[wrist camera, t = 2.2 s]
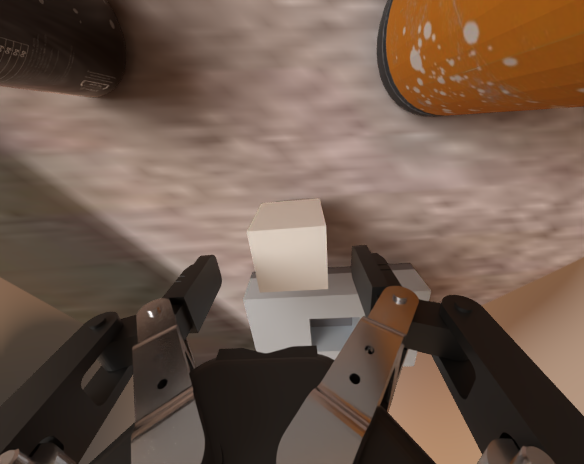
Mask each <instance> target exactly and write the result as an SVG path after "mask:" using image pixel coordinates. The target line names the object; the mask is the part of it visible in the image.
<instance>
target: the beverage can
mask: <svg viewBox="0 0 584 464" xmlns="http://www.w3.org/2000/svg"><path fill="white" fill-rule="evenodd" d="M125 64H126V50H125V43H124V38H123V34H122V31H121V28H120V25H119V23H118V20H117V18H116V16H115V14H114V12H113V10H112V8H111V6H110V5H109V3H108V2H107V0H0V86H3V87H11V88H19V89H26V90H34V91H42V92H50V93H57V94H66V95H75V96H84V97H99V96H103V95H106V94H108V93H109V92H111V91H112V90H113V89H115V88H116V86H117V85H118V84H119V82H120V81H121V79H122V76H123V73H124V70H125Z"/></svg>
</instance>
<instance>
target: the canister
mask: <svg viewBox="0 0 584 464" xmlns="http://www.w3.org/2000/svg"><path fill="white" fill-rule="evenodd" d="M377 62H378V68H379V73H380V77H381V80H382V82H383V85H384V87H385V89H386V90H387V92H388V94H389V95H390V97H391V98H392V99H393V100H394V101H395V102H396V103H397V104H398V105H399V106H401V107H402V108H403V109H405V110H407V111H409V112H411V113H413V114H417V115H421V116H444V115H462V114H477V113H492V112H507V111H522V110H537V109H552V108H567V107H582V106H584V0H388V1H387V3H386V6H385V8H384V11H383V15H382V18H381V21H380V26H379V32H378V37H377Z"/></svg>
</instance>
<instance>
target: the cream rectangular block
mask: <svg viewBox="0 0 584 464" xmlns="http://www.w3.org/2000/svg"><path fill="white" fill-rule="evenodd" d="M247 235H248V240H249V245H250V250H251V254H252V259H253V264H254V268H255V273H256V278H257V282H258V287H259V292H260V293H262V292H282V291H301V290H321V289H328V266H327V237H326V223H325V219H324V215H323V211H322V207H321V202H320V198H318V199H300V200H288V201H276V202H271V203H261V205H260V207H259V209H258V211H257V213H256V215H255V217H254V218H253V220H252V222H251V224H250V226H249V228H248V230H247Z"/></svg>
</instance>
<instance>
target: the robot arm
mask: <svg viewBox="0 0 584 464" xmlns="http://www.w3.org/2000/svg"><path fill="white" fill-rule="evenodd" d="M351 273H352V279H353V282H354V285H355V288H356V290H357V293H358V296H359V299H360V302H361V305H362V308H363V310H364V313H365V316H366V317H365V316H363V317H362V318H361V319H360V320H359V322H358V324H357V325H356V327H355V328H354V330H353V332H352V333H351V335H350V336H349V338H348V340H347V341H346V343H345V344H344V346H343V348H342V349H341V351H340V353H339V354H338V356H337V357H336V359H335V360H334V359H331V358H329V357H327V356H324V355H321V354H317V345H315V346H292V347H288V348H285V349H281V350H278V351H274V352H270V353H262V352H257V351H253V350H248V349H244V348H236V349H219V352H218V355H217V357H216V358H214V359H212V360H209V361H207V362H205V363H203V364H201V365H200V366H198V367H197V368H196V365H195V362H194V359H193V356H192V352H191V349H190V346H189V343H188V340H187V338H186V337H187V336H188V334H189V333H198V332H199V330H200V328H201V326H202V324H203V322H204V320H205V318H206V316H207V314H208V312H209V310H210V308H211V306H212V304H213V301H214V299H215V297H216V295H217V293H218V291H219V289H220V287H221V283H222V278H221V274H220V270H219V267H218V263H217V260H216V257H215V256H214V255H205V256H200V257H199V258H198V259H197V261H196V262H195V263H194V265H191V266H189V267H188V268H187V269H185V270H184V271H183V272H182V274H181V275H180V277H178V279H177V280H176V282H174V284H173V285H172V286H171V287H170V289H169V290H168V291H167V293H166V294H165V295H164V296H163V298H161V299H157V300H154V301H151V302H149V303H147V304H146V305H144V306H143V307H142V308H141V309H140V310H139V311H138V313H137V315H134V316H130V317H127V318H123V319H120V318H119V316H118V314H117V313H116V312H106V313H103V314H100V315H98V316H96V317H94V318H92V319H90V320H89V321H87V322H86V323H85V324H84V325H83V326H82V327H81V328H80V329H79V330H78V331H77V332H76V333H75V334H74V335H73V336H72V337H71V338H70V339H69V340H68V341H66V342H65V343H64V344H63V345H62V346H61V347H60V348H59V350H58V351H56V352H55V353H54V354H53V355H52V356H51V357H50V358H49V359H48V360H47V361H46V362H45V363H44V364H43V365H42V366H41V367H40V368H39V369H38V370H37V371H36V372H35V373H34V374H33V375H32V376H31V377H30V378H29V379H28V380H27V381H26V382H25V383H24V384H23V385H22V386H21V387H20V388H19V389H18V390H17V391H16V392H15V393H14V394H13V395H12V396H11V397H10V398H9V399H8V400H6V401H5V402H4V403H3V404H2V405H1V406H0V464H78V463H79V461H80V460H81V458H82V457H83V455H84V453H85V452H86V450H87V448H88V447H89V445H90V443H91V442H92V440H93V439H94V437H95V435H96V433H97V432H98V430H99V429H100V427H101V426H102V424H103V422H104V420H105V419H106V417H107V416H108V414H109V412H110V411H111V409H112V408H113V406H114V404H115V403H116V401H117V399H118V398H119V396H120V395H121V393H122V391H123V390H124V388H125V386H126V385H127V383H128V381H129V380H130V378H131V377H132V375H133V377H134V378H133V379H134V405H135V423H133V424H132V425H131V426H130V427H129V428H128V429H127V430H126V431H125V432H124V433H122V434H121V435H120V436H119V437H118V438H117V439H116V440H115V441H114V442H112V444H110V445H109V446H108V447H107V448H106V449H105V450H104V451H103V452H101V453H100V454H99V455H98V456H97V457H96V458H95V459H94V460H93V461H92V462H90V463H89V464H436V463H435V462H434V461H433V460H432V459H431V458H430V457H429V456H428V455H427V454H426V453H425V451H424V450H423V449H422V448H421V447H420V446H419V445H418V444H417V443H416V442H415V441H414V440H413V439H412V438H411V437H410V436H409V434H408V433H407V432H405V430H404V429H403V428H402V427H401V426H400V425H399V424H398V423H397V422H396V421H395V420H394V419H393V418H392V416H391V415H390V414H389V413H388V412H389V408H390V406H391V402H392V399H393V396H394V392H395V388H396V385H397V382H398V379H399V376H400V373H401V370H402V367H403V364H404V361H405V358H406V356H407V353H408V350H409V349H411V350H415V351H419V352H423V353H427V354H431V355H432V357H433V359H434V361H435V363H436V365H437V367H438V369H439V371H440V373H441V375H442V377H443V378H444V381H445V382H446V384H447V386H448V388H449V390H450V392H451V394H452V396H453V398H454V400H455V402H456V404H457V406H458V408H459V410H460V412H461V414H462V416H463V417H464V420H465V422H466V424H467V425H468V427H469V429H470V431H471V433H472V435H473V437H474V439H475V441H476V443H477V445H478V447H479V449H480V451H481V453H482V456H481V458H480V459H479V461H478V462H477V464H584V416H583V415H582V414H581V413H580V412H579V411H578V409H577V408H575V406H574V405H573V404H572V403H571V402H570V401H569V400H568V399H567V398H566V397H565V395H564V394H563V393H562V392H561V391H560V390H559V389H558V388H557V387H556V386H555V385H554V384H553V382H552V381H551V380H550V379H549V378H548V377H547V376H546V375H545V374H544V373H543V372H542V371H541V370H540V368H539V367H538V366H537V365H536V364H535V363H534V362H533V361H532V360H531V359H530V358H529V357H528V356H527V354H526V353H525V352H524V351H523V350H522V349H521V348H520V347H519V346H518V345H517V344H516V343H515V342H514V340H513V339H512V338H511V337H510V336H509V335H508V334H507V333H506V332H505V331H504V330H503V328H502V327H501V326H500V325H499V324H498V323H497V322H496V321H495V320H494V319H493V318H492V317H491V316H490V314H489V313H488V312H487V311H486V310H485V309H484V308H483V307H482V306H481V305H480V304H478V303H477V302H475V301H474V300H472V299H469V298H467V297H464V296H459V295H449V296H446V297H444V298H443V299H442V303H436V302H430V301H424V300H421V299H418V297H417V295H416V294H415V293H414V292H413V291H411V290H409V289H407V288H405V287H402V285H401V284H400V282H399V281H398V279H397V277H396V276H395V274H394V273H393V271H392V270H391V268H390V267H389V265H388V264H387V262H386V260H385V259H384V258H383V257H382V256H380V255H379V254H377V253H371V252H370V251H369V249H368V247H367V245H359V246H352V259H351ZM96 359H97V360H98V361H99V363H101V365H102V366H101V367H100V369H99V370H98V371H97V372H96V374H95V375H94V376H93V378H92V379H91V380H90V382H89V383H88V384H87V385H86V387H85V388H84V390H82V388H81V381H82V378H83V376H84V374H85V373H86V372H87V371H88V369H89V368H90V367H91V365H92V364H93V363H94V362H95V361H96Z"/></svg>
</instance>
